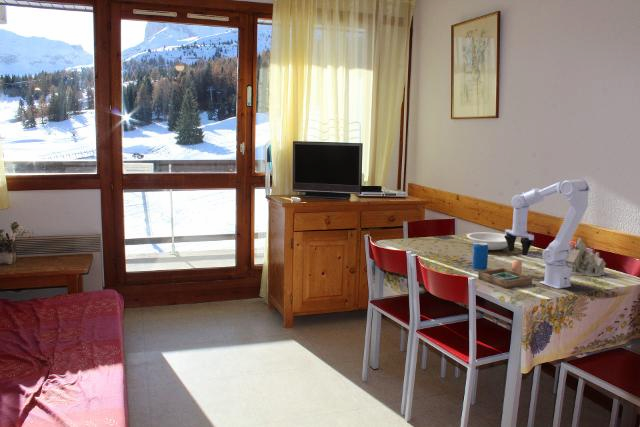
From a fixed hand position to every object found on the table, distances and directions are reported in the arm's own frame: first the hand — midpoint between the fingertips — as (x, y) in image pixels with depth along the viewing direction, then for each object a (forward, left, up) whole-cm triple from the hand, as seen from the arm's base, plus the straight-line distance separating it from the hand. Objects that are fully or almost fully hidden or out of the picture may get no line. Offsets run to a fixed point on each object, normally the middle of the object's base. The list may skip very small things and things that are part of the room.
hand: (517, 253), depth 241 cm
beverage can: (+13, +9, -10) cm, 19 cm away
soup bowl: (+42, -25, -10) cm, 50 cm away
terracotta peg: (0, 0, -9) cm, 9 cm away
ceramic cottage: (-10, -28, -10) cm, 32 cm away
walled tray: (-6, +13, -9) cm, 17 cm away
